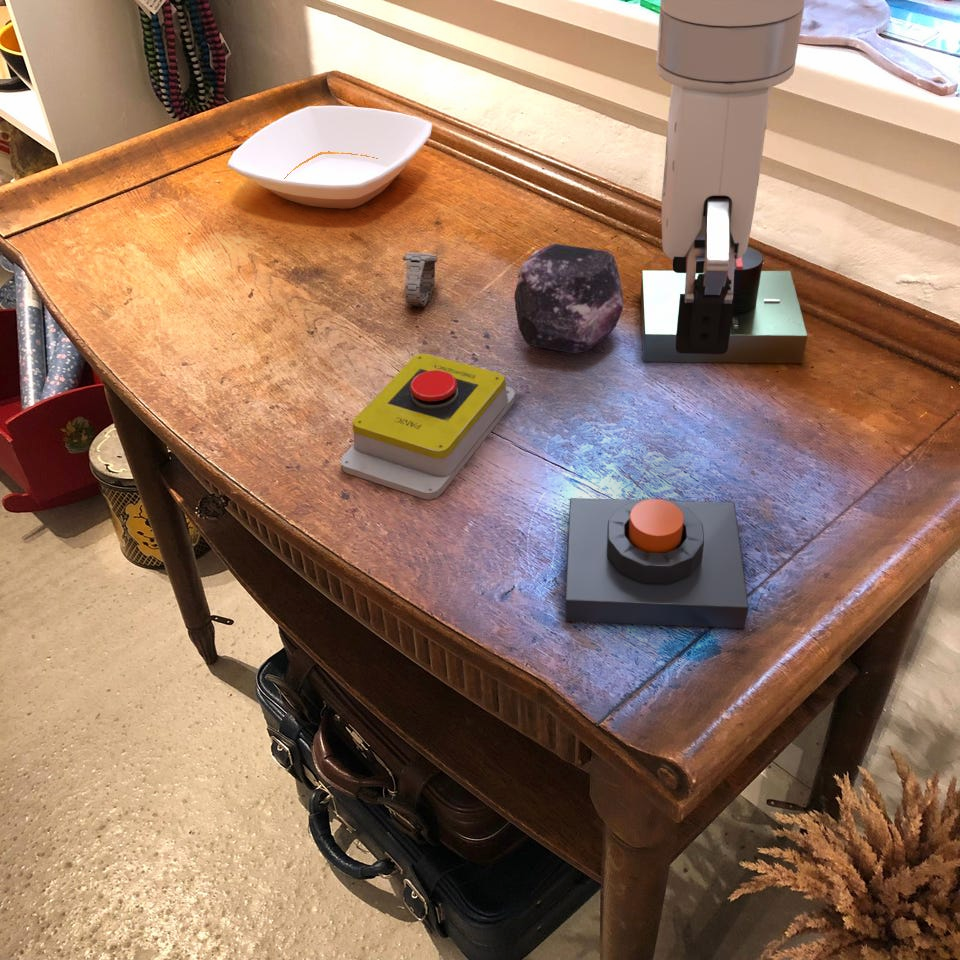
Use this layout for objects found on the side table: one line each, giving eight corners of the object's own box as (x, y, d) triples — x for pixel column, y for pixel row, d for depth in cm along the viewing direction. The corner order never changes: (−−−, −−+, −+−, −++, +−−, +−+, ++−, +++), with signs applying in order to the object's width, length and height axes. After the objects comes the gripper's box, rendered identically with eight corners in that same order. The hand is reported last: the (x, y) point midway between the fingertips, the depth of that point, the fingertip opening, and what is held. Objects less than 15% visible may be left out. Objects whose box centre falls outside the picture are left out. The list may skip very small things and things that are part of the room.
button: (680, 517, 68) (682, 499, 67) (683, 554, 65) (685, 536, 64) (628, 515, 68) (629, 497, 67) (629, 552, 66) (630, 534, 64)
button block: (731, 523, 72) (737, 484, 69) (744, 628, 65) (752, 589, 62) (569, 518, 74) (570, 479, 71) (565, 621, 66) (565, 582, 63)
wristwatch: (444, 283, 100) (440, 239, 97) (430, 316, 95) (425, 271, 92) (411, 281, 101) (406, 238, 97) (395, 314, 96) (389, 269, 93)
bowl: (456, 159, 122) (453, 118, 118) (371, 239, 108) (365, 195, 104) (310, 138, 129) (303, 98, 126) (213, 210, 115) (202, 168, 112)
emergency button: (518, 354, 82) (429, 460, 73) (519, 395, 85) (434, 502, 76) (424, 330, 86) (328, 428, 76) (428, 370, 89) (336, 469, 79)
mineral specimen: (584, 277, 96) (607, 207, 87) (624, 363, 92) (653, 299, 83) (492, 297, 93) (506, 227, 84) (529, 386, 89) (547, 323, 80)
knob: (706, 287, 91) (711, 241, 88) (754, 288, 90) (761, 242, 87) (708, 313, 88) (714, 266, 84) (758, 314, 87) (766, 267, 84)
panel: (785, 297, 94) (790, 269, 92) (802, 363, 86) (808, 334, 84) (640, 297, 96) (642, 268, 94) (643, 361, 88) (645, 332, 86)
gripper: (656, -6, 60) (641, 244, 71) (658, 103, 47) (640, 385, 59) (782, -9, 59) (746, 245, 70) (818, 101, 46) (767, 389, 58)
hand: (698, 309), depth 64 cm, fingers open, 9 cm apart
